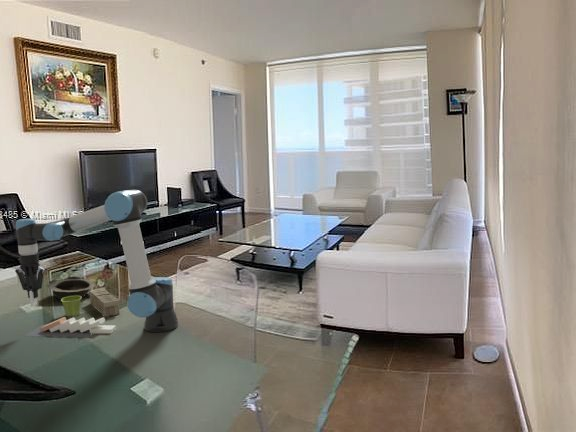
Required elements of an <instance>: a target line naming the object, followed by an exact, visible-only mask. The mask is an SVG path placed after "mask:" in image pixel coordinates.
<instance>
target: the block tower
mask: <svg viewBox="0 0 576 432" xmlns="http://www.w3.org/2000/svg"><path fill="white" fill-rule="evenodd" d="M90 303H91V304H92V305H93V306H94V307H96V308H97V309H98V310H99V311H100V312H101V313H102V314H103V315H104V316H103V317H108V316H107V315H113V316H117V315H120V305H121V303H120V299H119V298H117V297H116V296H114V295H113V294H111V293H110V292H109V291H107V289H106V288H104V287H99V288H94V289H93V290H89V304H90ZM91 304H90V305H91ZM92 305H91V306H92ZM93 306H92V307H93ZM94 307H93V308H94Z"/></svg>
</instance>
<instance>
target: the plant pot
mask: <svg viewBox="0 0 576 432" xmlns="http://www.w3.org/2000/svg"><path fill="white" fill-rule="evenodd" d="M82 298H83V297H81V296H68V297H65V298H62V299H61V300H60V301H61V302H62V303H61V304H62V305H63V310H64V313H65V316H66V317H70V318H71V317H76V316H80V307H81V301H82Z"/></svg>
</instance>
